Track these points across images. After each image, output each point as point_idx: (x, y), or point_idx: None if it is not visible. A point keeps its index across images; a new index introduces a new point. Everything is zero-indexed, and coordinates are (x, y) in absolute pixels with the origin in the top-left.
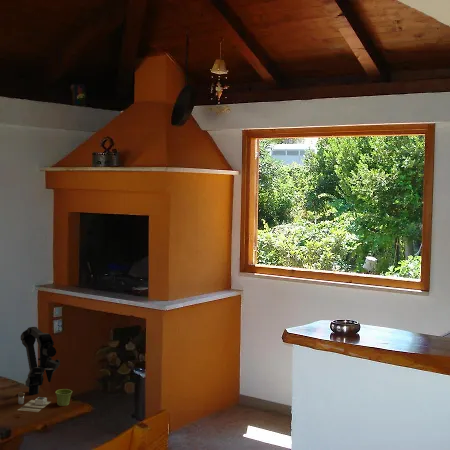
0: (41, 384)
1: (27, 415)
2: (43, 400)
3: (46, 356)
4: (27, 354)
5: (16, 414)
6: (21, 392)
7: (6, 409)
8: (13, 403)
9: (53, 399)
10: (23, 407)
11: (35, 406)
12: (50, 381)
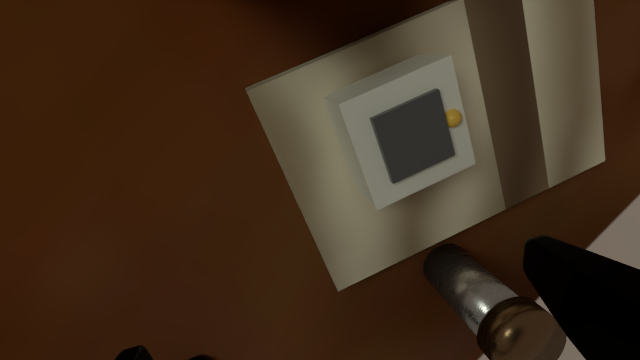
0: (546, 236)
1: (609, 28)
2: (444, 56)
3: None
4: None
5: (615, 126)
6: (528, 354)
7: None
8: (427, 344)
9: (101, 198)
10: (536, 172)
11: (468, 106)
12: (124, 354)
